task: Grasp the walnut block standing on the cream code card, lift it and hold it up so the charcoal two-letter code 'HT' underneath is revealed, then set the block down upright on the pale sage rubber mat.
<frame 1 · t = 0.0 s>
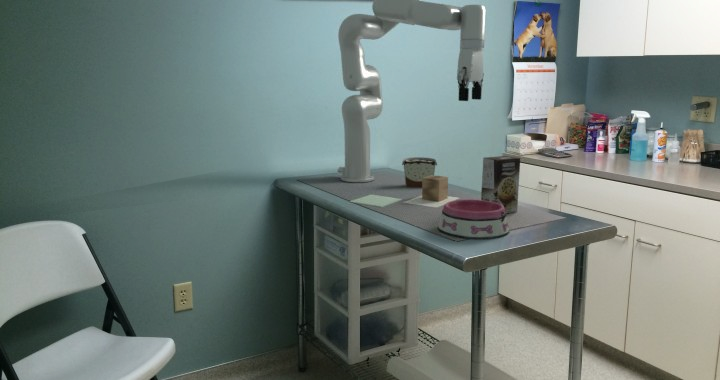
hand: (470, 100, 190), 31 cm above the table, tool pointing down, fingers open, 9 cm apart
coffee box: (498, 212, 173), on the table
code card: (431, 200, 187), on the table
walnut block: (434, 198, 189), resting on code card
dog bowl: (473, 230, 155), on the table
food container: (419, 186, 210), on the table
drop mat: (376, 201, 186), on the table
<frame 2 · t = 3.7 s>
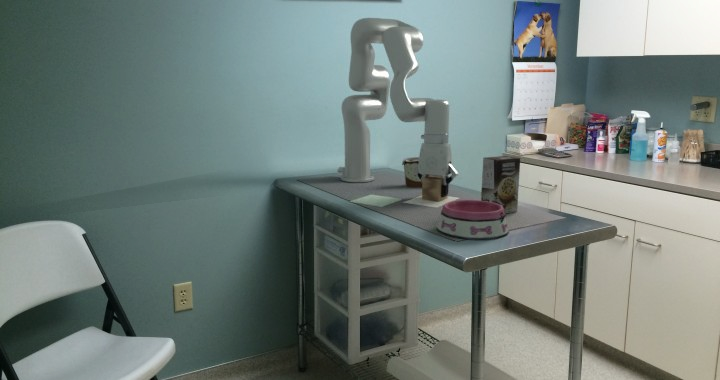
hand: (434, 194, 188), 2 cm above the table, tool pointing down, fingers closed on walnut block, 6 cm apart
walnut block: (434, 198, 189), resting on code card, touching gripper
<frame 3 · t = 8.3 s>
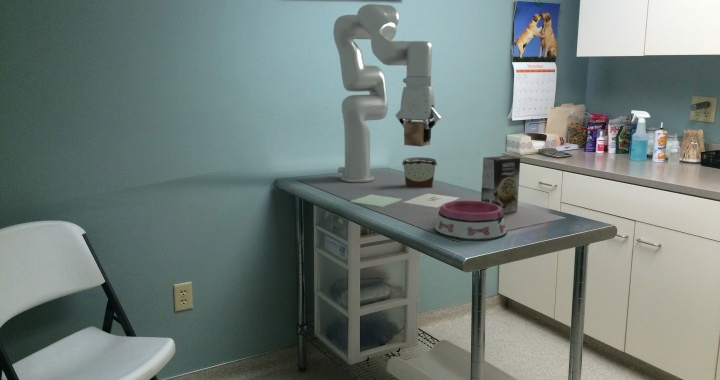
hand: (417, 140, 184), 19 cm above the table, tool pointing down, fingers closed on walnut block, 6 cm apart
walnut block: (417, 144, 184), point 18 cm above the table, touching gripper
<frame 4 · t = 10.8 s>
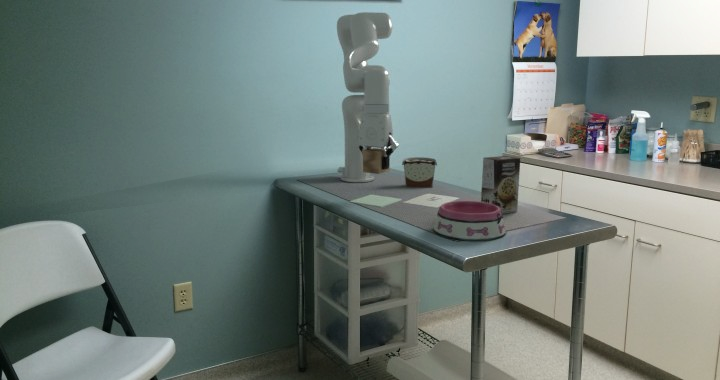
hand: (376, 167, 184), 11 cm above the table, tool pointing down, fingers closed on walnut block, 6 cm apart
walnut block: (376, 171, 184), point 10 cm above the table, touching gripper
when the fingers open (3 cm above the table, at t = 13.1 s): walnut block drops 1 cm, resting on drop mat.
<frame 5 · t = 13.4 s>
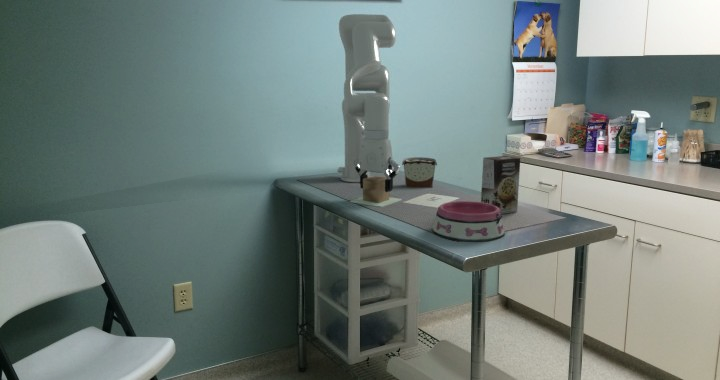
hand: (376, 189, 185), 4 cm above the table, tool pointing down, fingers open, 9 cm apart
walnut block: (376, 200, 186), resting on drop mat
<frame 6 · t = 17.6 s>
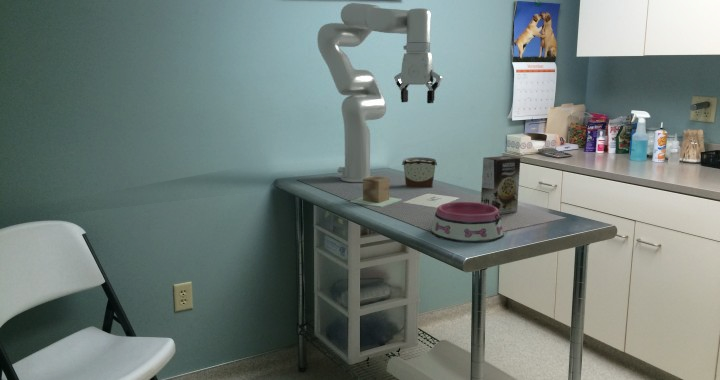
hand: (417, 102, 192), 30 cm above the table, tool pointing down, fingers open, 9 cm apart
at the end: walnut block inside the target area on the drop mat (0.0 cm from its centre), point 0.4 cm above the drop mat's base; walnut block tilted 0°; the gripper is holding nothing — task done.
